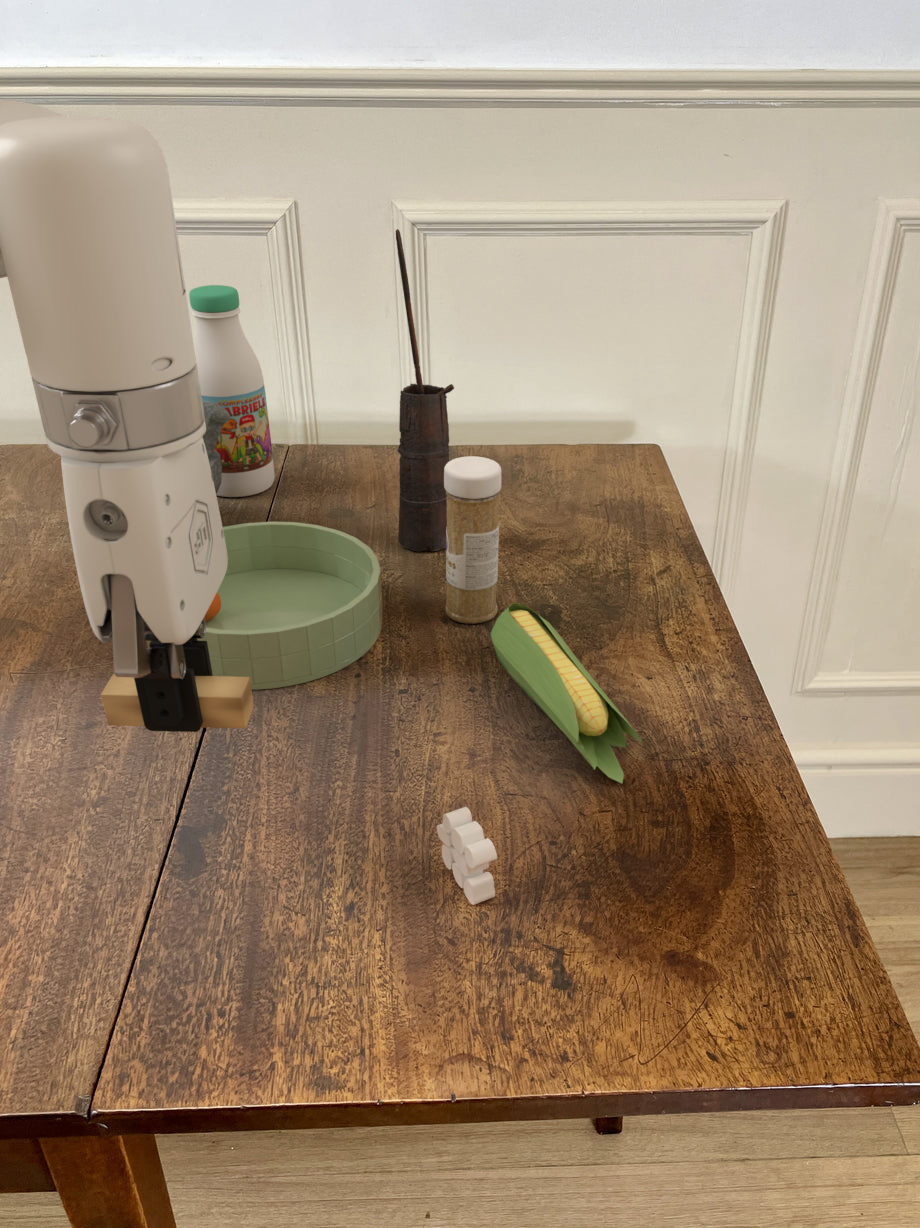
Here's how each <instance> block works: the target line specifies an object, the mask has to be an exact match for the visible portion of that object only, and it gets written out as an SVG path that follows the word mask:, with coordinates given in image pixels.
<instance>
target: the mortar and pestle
mask: <svg viewBox="0 0 920 1228" xmlns="http://www.w3.org/2000/svg"><path fill="white" fill-rule="evenodd" d="M203 410H204V418H205V424H206V432H205V434H204V435H203V440H204V444H205V447H206V451H207V455H208V459H209V464H210V468H211V472H212V477H213V482H214V486H215V491H216V496H217V492H218V490H219V487H220V485H221V478H222V465H221V458H220V454H219V453H218V452H217V451H216V450H215V446H216V444H217V441H218V438H219V435H220V433H221V430H222V427H223V425H224V424H225V423H226V422H228V421H229V418H230V414H229V413H228V411H227V410H226V409H225V408H223V407H222V406H220V405H218V404H216V403H214V402H209V401H205V402H203Z"/></svg>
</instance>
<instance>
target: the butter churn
mask: <svg viewBox="0 0 920 1228" xmlns="http://www.w3.org/2000/svg"><path fill="white" fill-rule="evenodd" d="M395 240H396V249H397V250H396V251H397V257H398V264H399V272H400V279H401V284H402V292H403V298H404V299H403V300H404V306H405V311H406V312H405V313H406V320H407V327H408V333H409V334H408V335H409V341H410V349H411V355H412V361H413V366H414V373H415V374H414V375H415V383H410V384H409V385H406V386H405V387H403V389H402V390H400V392H399V393H400V395H399V422H398V423H399V425H398V428H399V433H400V434H399V435H400V438H399V445H398V448H397V449H396V450H397V452H398V454H399V455H400V457H399V473H398V476H399V478H398V480H399V481H398V482H399V494H398V495H399V497H398V499H399V505H398V506H399V508H398V538H397V539H398V543H399V545H400V546H401V547H402V548H405V549H407V550H411V551H415V552H423V551H430V552H435V551H436V552H437V551H441V550H444V549H446V527H447V495H446V490H445V488H444V468H445V465H446V464H447V463H448V462H449V461H450V446H449V445H450V429H449V428H450V427H449V417H448V416H449V415H448V405H447V403H448V402H447V398H448V396H447V394H449V393H451V392H452V391H453V390H454V389H455V385H453V384H452V383H450V384H449V385H447V386H446V387H443V386H437V385H432V384H424V383H423V377H422V373H421V365H420V357H419V348H418V342H417V341H418V340H417V335H416V329H415V328H416V327H415V323H414V316H413V309H412V302H411V301H412V300H411V292H410V284H409V276H408V270H407V264H406V258H405V253H404V249H403V247H404V246H403V240H402V234H401V231H400V230H399V229H398V228H397V229H396V230H395Z"/></svg>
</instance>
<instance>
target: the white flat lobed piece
mask: <svg viewBox="0 0 920 1228" xmlns="http://www.w3.org/2000/svg"><path fill="white" fill-rule="evenodd" d="M436 833H437V836H438V838H439V840H440V841H441V842H442V843H443V844H442V845H441V859H442V861H443V863H444V866H445V867H446V868H447V869H448V870H449V871H450V870H451V871H452V874H453V878H454V880H455V882H456V883H457V885H458V887H460V888H461V889H463V893H464V896H465V897H466V899H467V901H468V903H470V904H471V905H472V906H474V905H478V904H480V903H482V902H485V901H488V900H490V899H493V898H496V890H495V889H496V888H495V880H494V877H493V875H492V873H491V872H489V871H485V872H484V870H487V869H489V868H490V863H491V862H494V861H496V860H498V854H497V850H496V847H495V845H494V843H493V842H492V840H491V839H490V838H489V837H487V838H485V834H484V830H483V828H482V826H481V824H480V823H479V822H478V821H477V820H473V816H472V813H471V810H470V809H469V807H467V806H463V807H461V808H457V809H455V810H452V811H449V812H446V813H444V814H442V823H440V824H437V825H436Z"/></svg>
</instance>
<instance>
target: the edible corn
mask: <svg viewBox="0 0 920 1228" xmlns="http://www.w3.org/2000/svg"><path fill="white" fill-rule="evenodd" d="M489 634H490V637H491V641H492V645H493V647H494V650H495V656H496V658H497V659H498V661H499V662H500V664H501V666H502V667H503V669H505V671H506V672H507V673H508V675H510V677H511V678H512V680H514V681H515V682H516V684H518V686H519V687H520V688H521V689H522V690H523V691H524V692H525V693H526V695H528V697H529V698H530V699H531V700H532V701H533V702H534V703H535V704H536V706H538V707H539V709H540V710H541V711H542V712H543V713H544V714H545V715H546V716H547V717H548V718H549V719H550V720H551V721H552V722H553V723H554V725H556V727H557V728H558V729H559V730H560V731H561V732H562V733H563V734H564V735H565V736H566V737H567V738H568V740H569V741H570V742H571V743H572V744H573V746H574V747H575V748H576V749H577V751H578V752H579V753H580V754H581V755H582V757H583V758H584V760H586V762H587V763H588V765H590V766H591V768H592V769H593V770H594V771H595V770H596V768H598V769H599V770H600V771H601V772H602V773H603V774H605V776H606V777H607V778H609V779H611V780H614V781H616V782H618V783H620V784H623V782H624V776H625V774H624V771H623V769H622V766H621V764H620V762H619V759H618V757H617V755H616V753H615V751H614V750H613V747H617V748H618V747H619V748H626V749H627V747H628V746H627V741H626V734H627V735H628V736H630V737H632V738H634V740H636V741H638V742H640V743H641V742H643V743H644V741H643V739H642V738H641V737H640V735H639V734H638V733H637V731H636V730H635V728H634V727H633V725H631V723H630V722H629V721H628V720H627V718H626V717H625V716H624V715H623V714H622V712H620V710H619V709H618V708H617V706H616V705H615V704H614V702H612V700H611V698H609V697H608V696H607V694H606V693H605V692H604V691H603V689H602V688H601V687H600V686H599V684H598V683H597V682H596V681H595V680H594V678H593V676H592V675H591V674H590V673H589V671H587V669H586V668H585V667H584V665H583V664H582V662H581V661H580V660H579V659H578V657H577V656H576V655H575V654H574V652H573V651H572V650H571V649H570V647H569V645H568V644H567V642H565V640H564V639H563V638H562V636H561V635H560V634H559V632H557V630H556V629H555V628H554V626H553V625H552V624H551V623H550V622H549V621H548V620H547V619H545V618H543V616H541V615H540V614H538V613H537V612H536V611H535V610H533V608H531V607H529V606H528V605H525V604H523V603H519V602H515V603H511V604H509V605H508V607H507V608H506V609H505V610H503V611H502V612H501V613H500V615H499V616H498V617H497V618H496V621H495V622H494V625H493V626H492V629H491V631H490V633H489Z"/></svg>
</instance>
